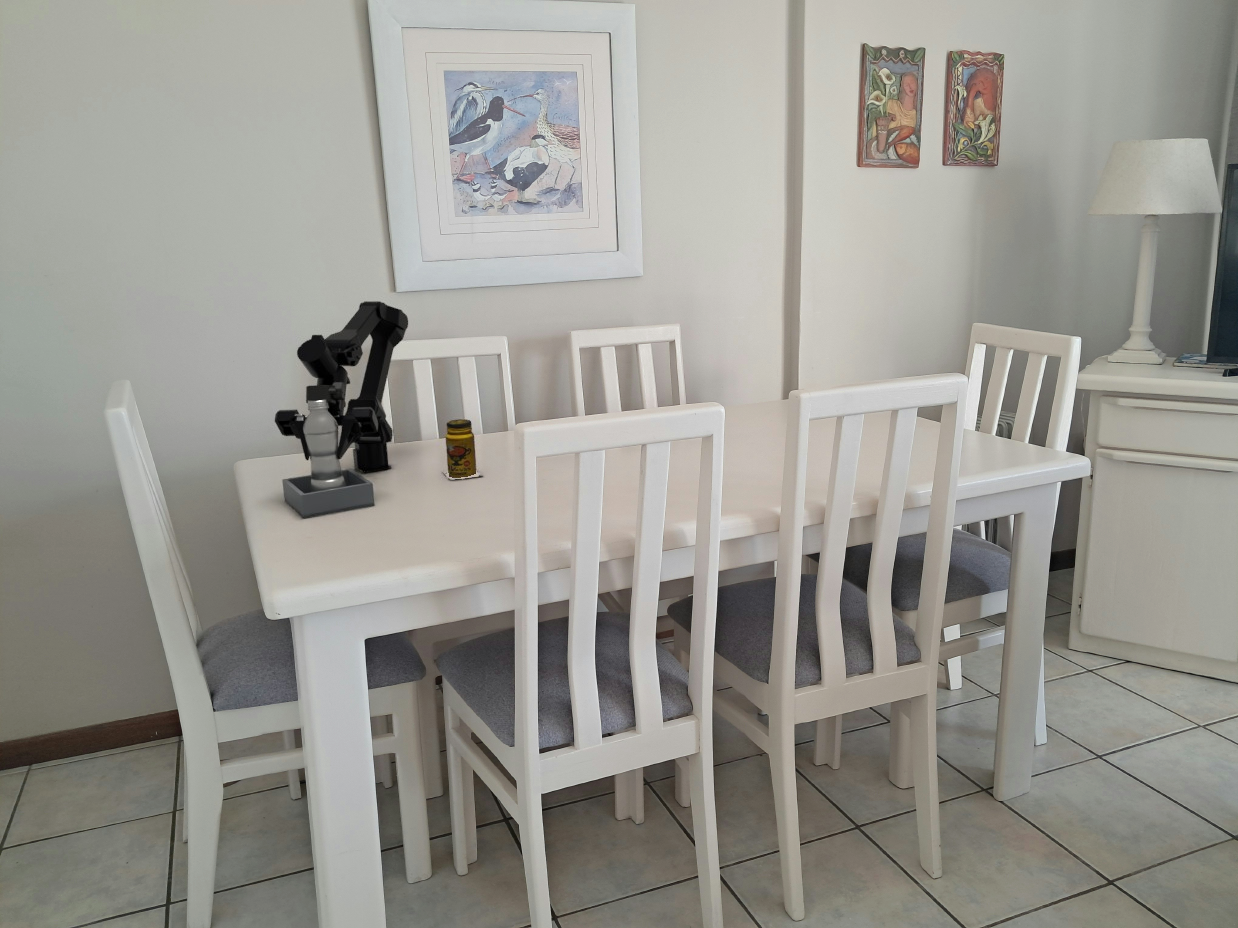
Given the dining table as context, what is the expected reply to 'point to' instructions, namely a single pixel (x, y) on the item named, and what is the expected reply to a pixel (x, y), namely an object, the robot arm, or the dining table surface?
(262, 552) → the dining table surface
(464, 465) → the condiment
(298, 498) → the tote
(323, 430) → the plastic bottle
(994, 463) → the dining table surface
